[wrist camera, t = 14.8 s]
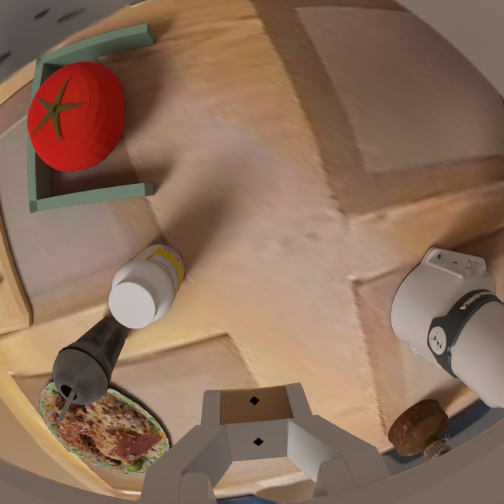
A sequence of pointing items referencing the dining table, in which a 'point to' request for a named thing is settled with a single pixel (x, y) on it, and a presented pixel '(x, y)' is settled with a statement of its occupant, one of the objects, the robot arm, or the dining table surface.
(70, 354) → the beverage cup
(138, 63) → the dining table surface
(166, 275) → the supplement bottle
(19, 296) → the cutting board
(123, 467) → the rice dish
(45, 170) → the corral
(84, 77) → the tomato
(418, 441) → the oil lamp
